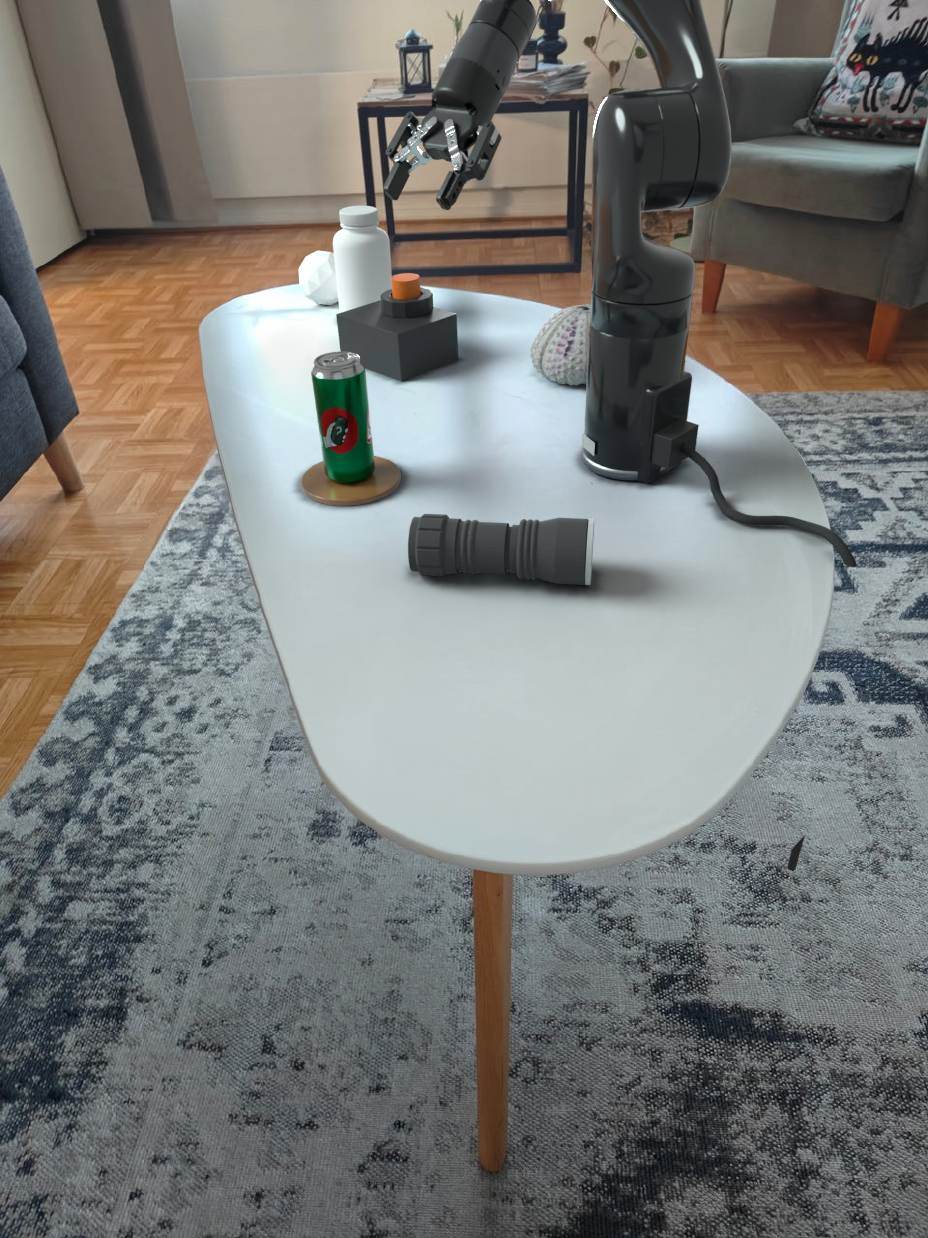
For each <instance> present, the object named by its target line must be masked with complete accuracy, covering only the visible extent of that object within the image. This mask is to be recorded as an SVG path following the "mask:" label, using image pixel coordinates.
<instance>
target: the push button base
mask: <svg viewBox="0 0 928 1238" xmlns="http://www.w3.org/2000/svg"><path fill="white" fill-rule="evenodd" d="M420 292H421V297H418V298H415V299H406V300H404V299H395V298H393V296H392V289H391V290H387V291H385V292H384V293H382V294H381V296H380V297H381V300H379V301H376V302H373V303H370V304H367V305H364V306H361V307H357V308H354V309H351V310H348V311H345V312H342V313H340V312H339V313H336V314H335V316H336V325H337V333H338V334H337V335H338V342H339V350H340V351H339V352H351V353H355V354H357V355H358V356H359V357H360V362H361V363H362V364H363V366H364V367H365V370H369V371H371V372H373V373H376V374H379V375H381V376H384V377H386V378H390V379H393V380H395V381H398V382H401V383H402V382H405V381H407V380H411V379H413V378H415V377H418V376H421V375H423V374H425V373H428V372H430V371H433V370H435V369H439V368H442V367H444V366H445V365H448V364H451V363H453V362H457V361H458V360H459V339H458V337H459V336H458V314H457V313H455V312H451V311H448V310H445V309H442V308H438V307H434V294H433V292H432V290H431V289H428V288H425V287H421V286H420Z"/></svg>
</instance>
